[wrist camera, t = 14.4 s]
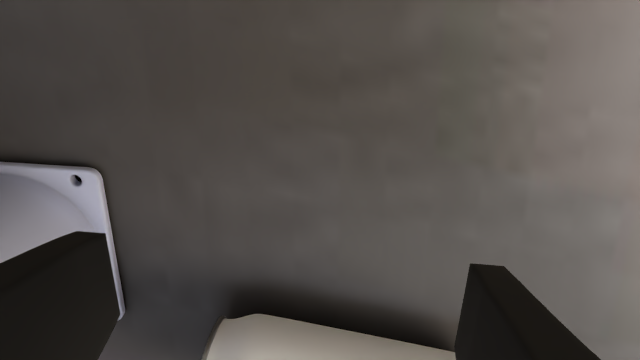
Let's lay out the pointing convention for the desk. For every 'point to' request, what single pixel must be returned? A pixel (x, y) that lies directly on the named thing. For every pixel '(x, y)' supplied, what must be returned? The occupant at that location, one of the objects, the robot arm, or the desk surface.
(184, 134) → the desk surface
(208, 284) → the desk surface
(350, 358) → the can
